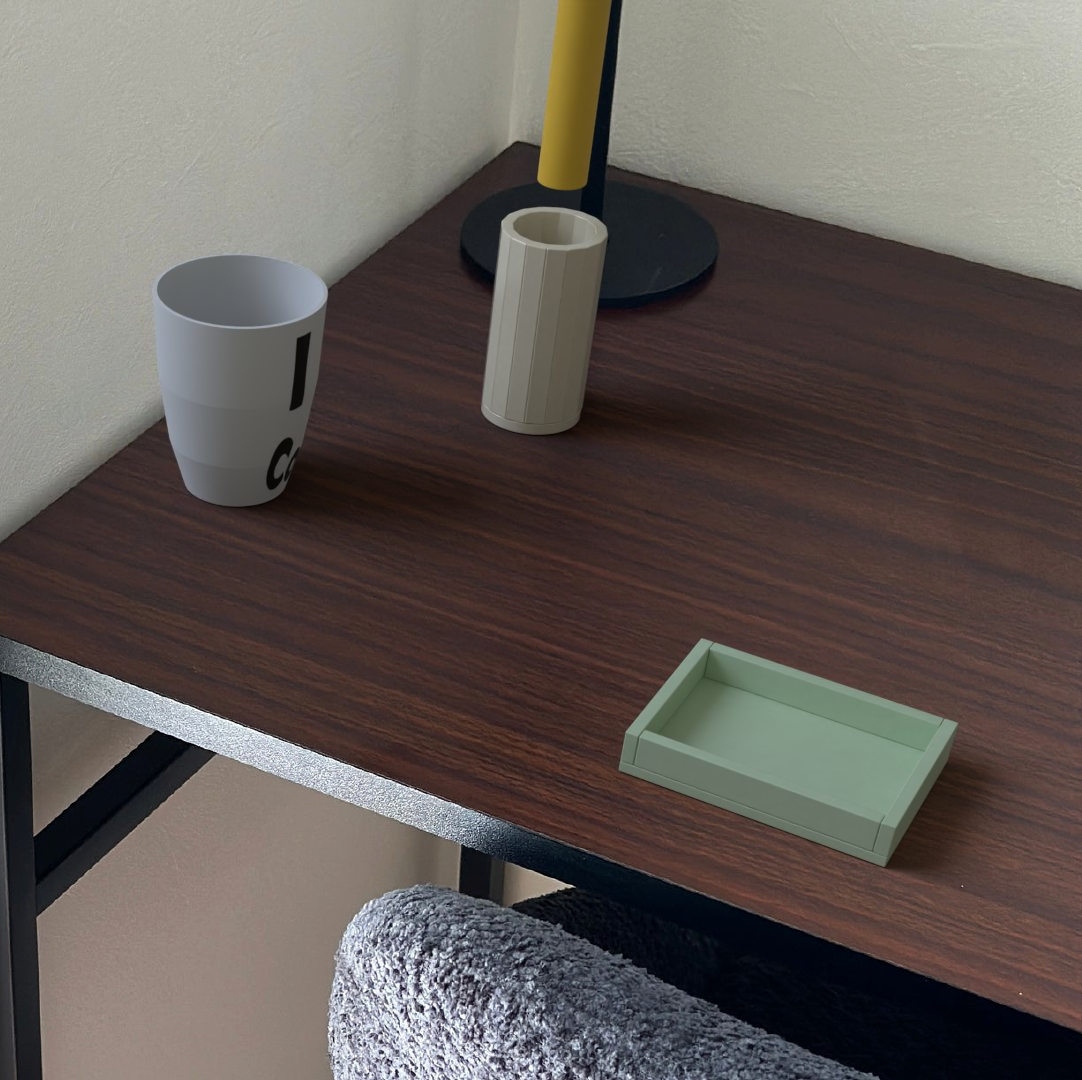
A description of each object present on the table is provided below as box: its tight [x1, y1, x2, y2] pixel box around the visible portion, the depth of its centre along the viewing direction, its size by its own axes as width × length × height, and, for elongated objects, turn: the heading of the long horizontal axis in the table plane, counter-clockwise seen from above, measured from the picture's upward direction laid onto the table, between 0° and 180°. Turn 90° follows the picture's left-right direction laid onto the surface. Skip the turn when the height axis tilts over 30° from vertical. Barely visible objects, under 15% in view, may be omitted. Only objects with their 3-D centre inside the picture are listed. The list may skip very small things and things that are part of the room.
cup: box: [152, 253, 329, 507], centre depth 99 cm, size 8×8×10 cm
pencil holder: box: [480, 206, 609, 436], centre depth 106 cm, size 5×5×10 cm
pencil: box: [536, 0, 613, 191], centre depth 96 cm, size 2×2×15 cm
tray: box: [618, 638, 960, 868], centre depth 85 cm, size 11×8×2 cm
